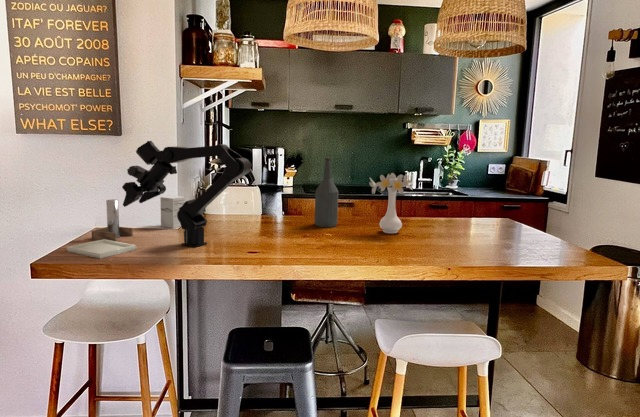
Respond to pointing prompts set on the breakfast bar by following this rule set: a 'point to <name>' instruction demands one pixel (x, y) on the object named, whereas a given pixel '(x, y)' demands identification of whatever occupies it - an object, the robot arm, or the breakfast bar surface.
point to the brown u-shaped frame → (110, 233)
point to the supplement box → (171, 211)
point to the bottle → (326, 200)
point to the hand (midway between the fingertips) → (132, 204)
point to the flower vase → (391, 200)
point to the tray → (101, 248)
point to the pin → (113, 217)
